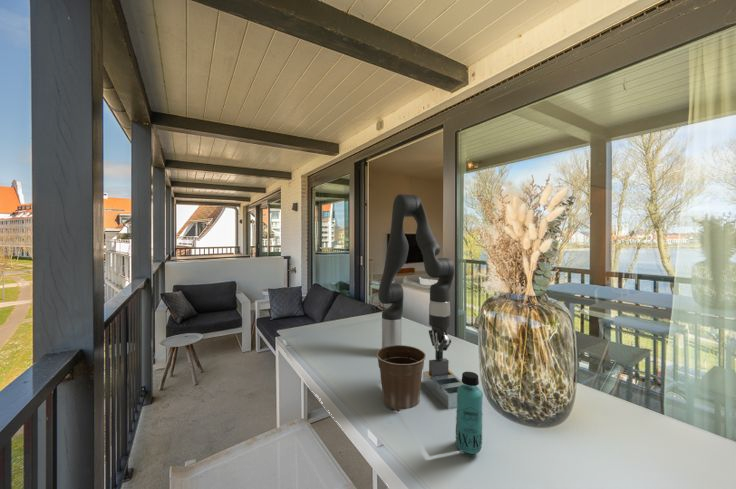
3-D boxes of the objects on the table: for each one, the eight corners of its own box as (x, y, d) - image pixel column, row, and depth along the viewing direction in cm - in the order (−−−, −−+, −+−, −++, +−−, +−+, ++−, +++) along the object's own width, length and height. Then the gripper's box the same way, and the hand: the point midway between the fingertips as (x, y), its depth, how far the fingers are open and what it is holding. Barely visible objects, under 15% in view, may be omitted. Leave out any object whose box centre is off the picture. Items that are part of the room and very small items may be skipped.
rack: (422, 385, 112) (423, 370, 112) (446, 381, 115) (446, 368, 115) (448, 412, 95) (448, 395, 95) (475, 407, 97) (475, 391, 97)
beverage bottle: (451, 443, 80) (452, 368, 80) (475, 442, 81) (476, 367, 80) (461, 461, 74) (462, 380, 73) (487, 459, 74) (488, 379, 74)
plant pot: (392, 421, 90) (393, 367, 89) (367, 396, 104) (367, 349, 104) (435, 407, 97) (436, 358, 97) (406, 385, 111) (407, 342, 111)
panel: (428, 384, 110) (429, 360, 110) (445, 382, 112) (445, 358, 112) (431, 387, 108) (431, 362, 108) (448, 384, 110) (448, 360, 110)
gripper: (422, 309, 115) (421, 354, 116) (439, 318, 103) (438, 368, 103) (439, 308, 117) (439, 352, 118) (458, 316, 105) (458, 366, 105)
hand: (439, 360), depth 110 cm, fingers closed
